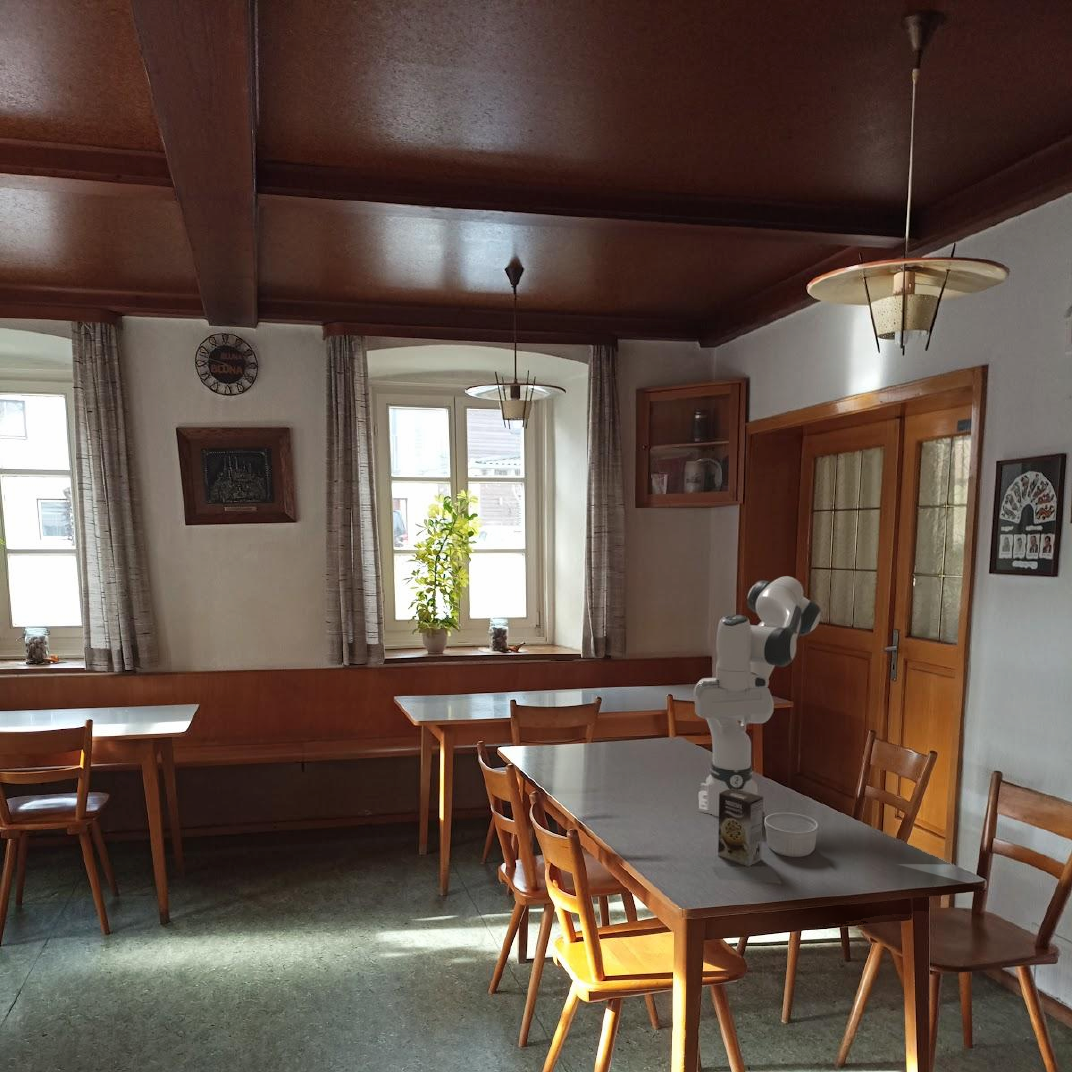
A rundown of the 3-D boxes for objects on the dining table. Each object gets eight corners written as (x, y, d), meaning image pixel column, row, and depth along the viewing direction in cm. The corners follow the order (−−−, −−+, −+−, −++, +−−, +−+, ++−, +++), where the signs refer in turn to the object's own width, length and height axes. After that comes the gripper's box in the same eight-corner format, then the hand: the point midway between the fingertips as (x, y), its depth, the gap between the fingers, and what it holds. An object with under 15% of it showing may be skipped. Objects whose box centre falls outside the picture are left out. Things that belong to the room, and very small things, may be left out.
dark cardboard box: (716, 855, 214) (717, 792, 213) (731, 848, 219) (732, 786, 218) (748, 867, 208) (749, 802, 207) (762, 859, 212) (763, 795, 211)
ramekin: (753, 848, 219) (754, 821, 219) (780, 833, 228) (780, 807, 228) (801, 864, 210) (802, 836, 209) (827, 848, 219) (827, 822, 218)
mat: (713, 868, 207) (713, 866, 207) (770, 868, 207) (770, 866, 207) (723, 888, 197) (723, 886, 197) (783, 887, 197) (783, 885, 197)
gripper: (701, 684, 214) (701, 738, 215) (774, 679, 219) (773, 732, 220) (690, 678, 220) (690, 731, 221) (762, 674, 225) (761, 725, 226)
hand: (732, 732), depth 221 cm, fingers open, 4 cm apart
